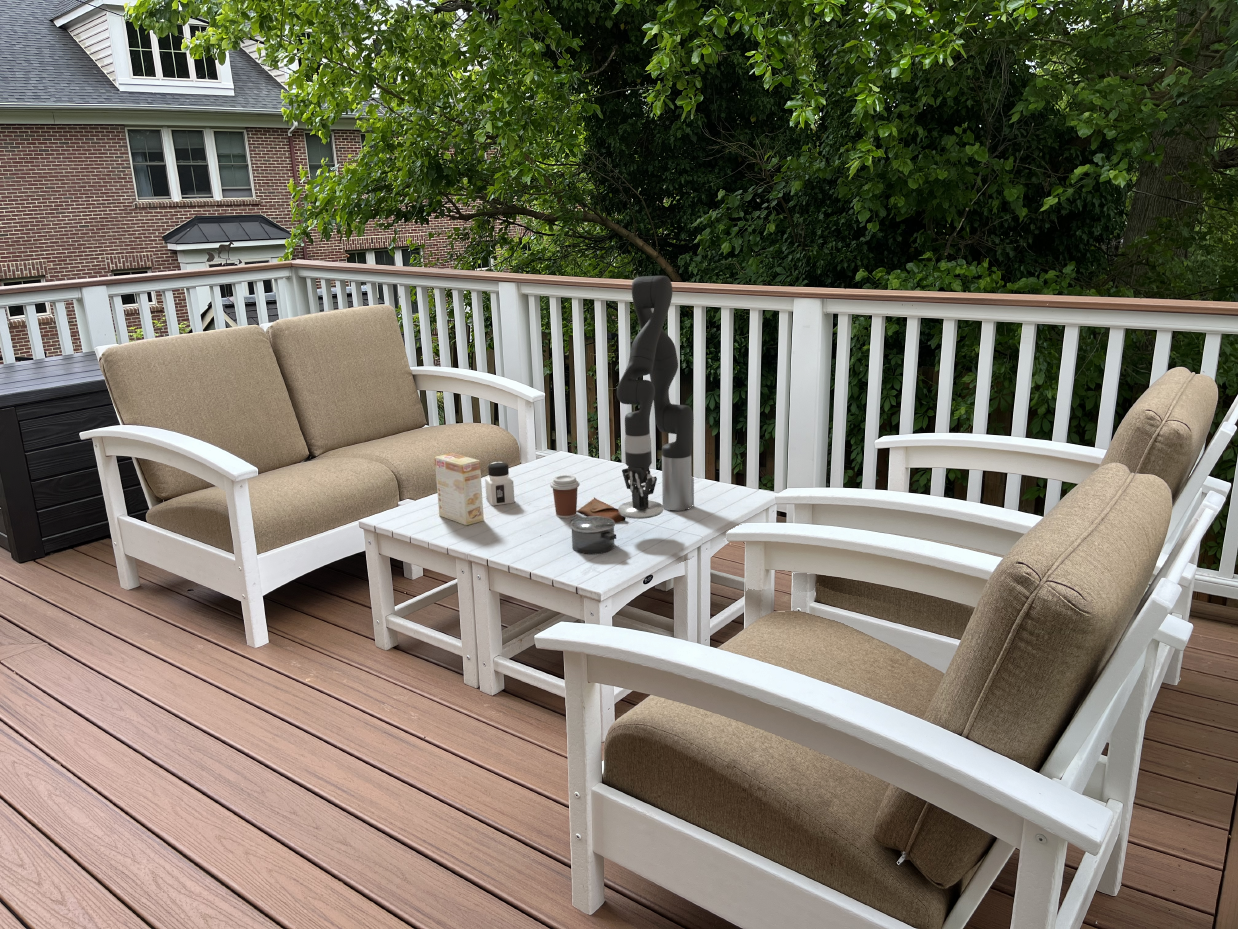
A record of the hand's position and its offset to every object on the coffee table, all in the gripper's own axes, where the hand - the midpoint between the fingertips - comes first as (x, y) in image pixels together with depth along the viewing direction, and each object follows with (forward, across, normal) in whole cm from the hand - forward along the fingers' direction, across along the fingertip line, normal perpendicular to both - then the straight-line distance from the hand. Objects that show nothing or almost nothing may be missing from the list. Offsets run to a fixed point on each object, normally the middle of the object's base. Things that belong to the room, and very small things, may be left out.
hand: (640, 505), depth 274 cm
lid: (+2, 0, 0) cm, 2 cm away
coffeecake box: (+9, +50, +32) cm, 61 cm away
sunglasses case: (+10, +23, -2) cm, 26 cm away
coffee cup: (+10, +31, +6) cm, 33 cm away
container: (+10, +57, +14) cm, 60 cm away
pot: (+9, +2, +16) cm, 18 cm away
